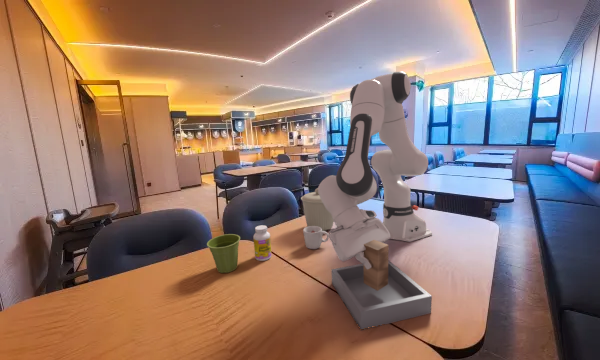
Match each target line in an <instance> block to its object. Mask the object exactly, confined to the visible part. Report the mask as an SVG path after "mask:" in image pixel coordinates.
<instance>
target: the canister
mask: <svg viewBox="0 0 600 360" xmlns="http://www.w3.org/2000/svg"><path fill="white" fill-rule="evenodd" d="M300 200H301V201H302V205H303V212H304V218H305V222H306V227H309V226H318V227H320V228H321V229H322V231H326V232H327V231H330V230H331V229H333V226H334V223H335V222H334V221H333V218H332V215H331V214H330V213H329V212H328V211H327V209H326V208H325V206H324V204H323V202H322V200H321V198H320V196H319V193H318V187H317V188H315V190H314V191H313V192H308V193H306V194H304V195H302V196H301V197H300Z"/></svg>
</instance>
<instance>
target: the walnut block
mask: <svg viewBox="0 0 600 360" xmlns="http://www.w3.org/2000/svg"><path fill="white" fill-rule="evenodd" d="M364 246H365V248H366V250H364V252H363V254H364V257H365V258H366V259H367V260H368V261H369V260H371V261H372V263H373V265H374V266H373V267H371V268H370V269H366V267H365V266H364V283H365V284H366V285H368V286H370V287H372V288H373V289H375V290H377V291H378V290H380V289H381V288H383V287H384V286H386V285H387V284H388V260H389V250H390V249H389V244H387V243H385V242H384V243H382V242H379V241H377V240H372V241H370V242H368V243H366V244H364Z"/></svg>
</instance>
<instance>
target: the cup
mask: <svg viewBox="0 0 600 360" xmlns="http://www.w3.org/2000/svg"><path fill="white" fill-rule="evenodd" d="M302 232H303V237H304V238H303V239H304V244H305V247H306V248H307V249H309V250H316V249H319V248H320V247H321V246H322V243H326V242H328V241H329V240H330V238H329V236H328V235H329V232H327V230H326V231H322V229H321V228H320V227H318V226H309V227H308V226H305V227H304V228H303V230H302ZM323 235H326V239H324V238H323Z"/></svg>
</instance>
